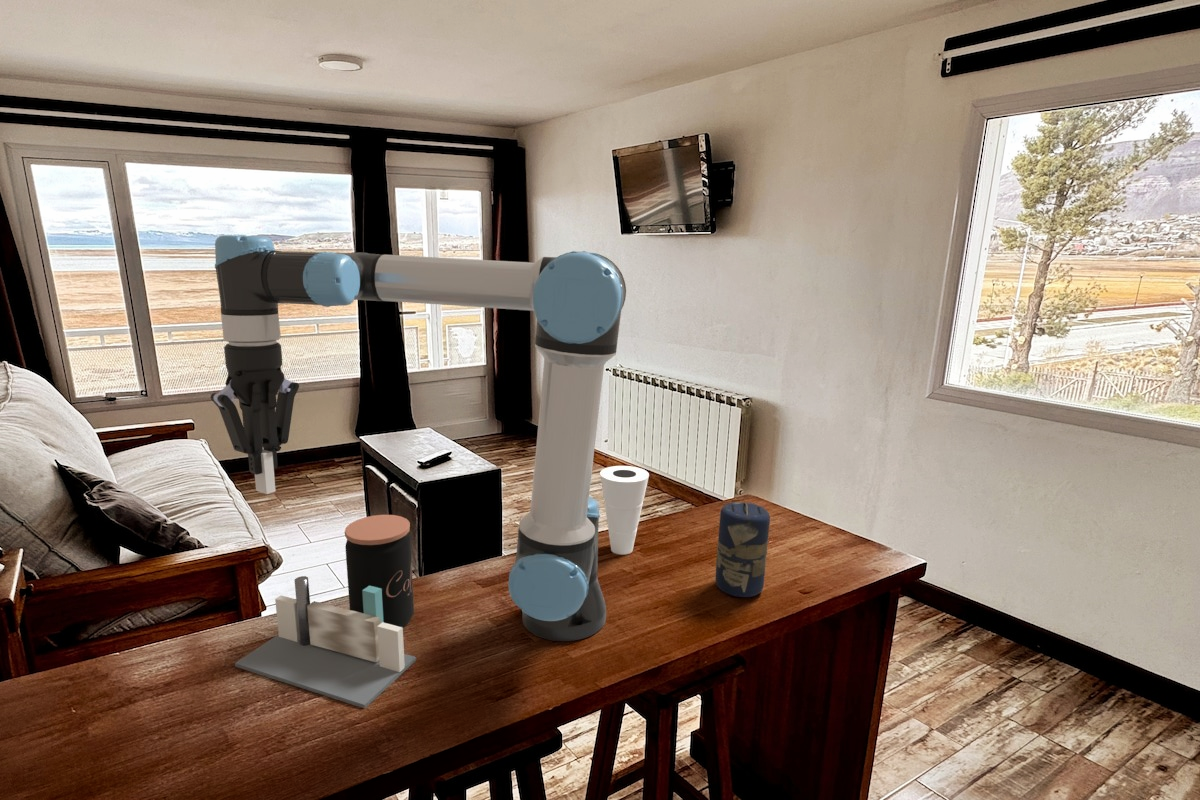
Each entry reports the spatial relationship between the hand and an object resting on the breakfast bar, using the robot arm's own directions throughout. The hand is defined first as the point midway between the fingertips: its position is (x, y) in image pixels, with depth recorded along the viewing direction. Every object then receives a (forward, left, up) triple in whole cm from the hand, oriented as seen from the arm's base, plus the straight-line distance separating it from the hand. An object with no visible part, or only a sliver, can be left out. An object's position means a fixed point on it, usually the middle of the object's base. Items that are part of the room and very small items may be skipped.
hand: (265, 490), depth 100 cm
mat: (-11, +2, -27) cm, 29 cm away
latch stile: (-17, -3, -27) cm, 32 cm away
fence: (-12, -1, -26) cm, 29 cm away
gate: (-13, -1, -26) cm, 29 cm away
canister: (-69, -48, -27) cm, 88 cm away
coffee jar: (-11, -12, -27) cm, 31 cm away
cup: (-42, -55, -27) cm, 74 cm away
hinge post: (-5, -1, -27) cm, 27 cm away
